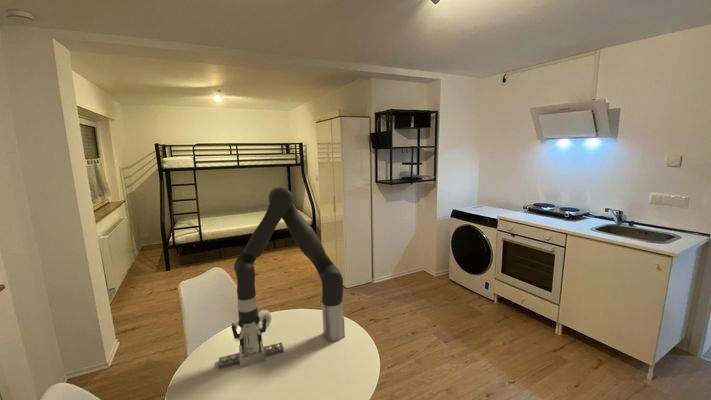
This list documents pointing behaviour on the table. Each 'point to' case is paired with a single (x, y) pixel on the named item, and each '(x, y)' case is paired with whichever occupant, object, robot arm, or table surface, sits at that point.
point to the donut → (268, 317)
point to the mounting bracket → (250, 359)
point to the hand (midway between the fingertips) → (251, 343)
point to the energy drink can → (250, 339)
